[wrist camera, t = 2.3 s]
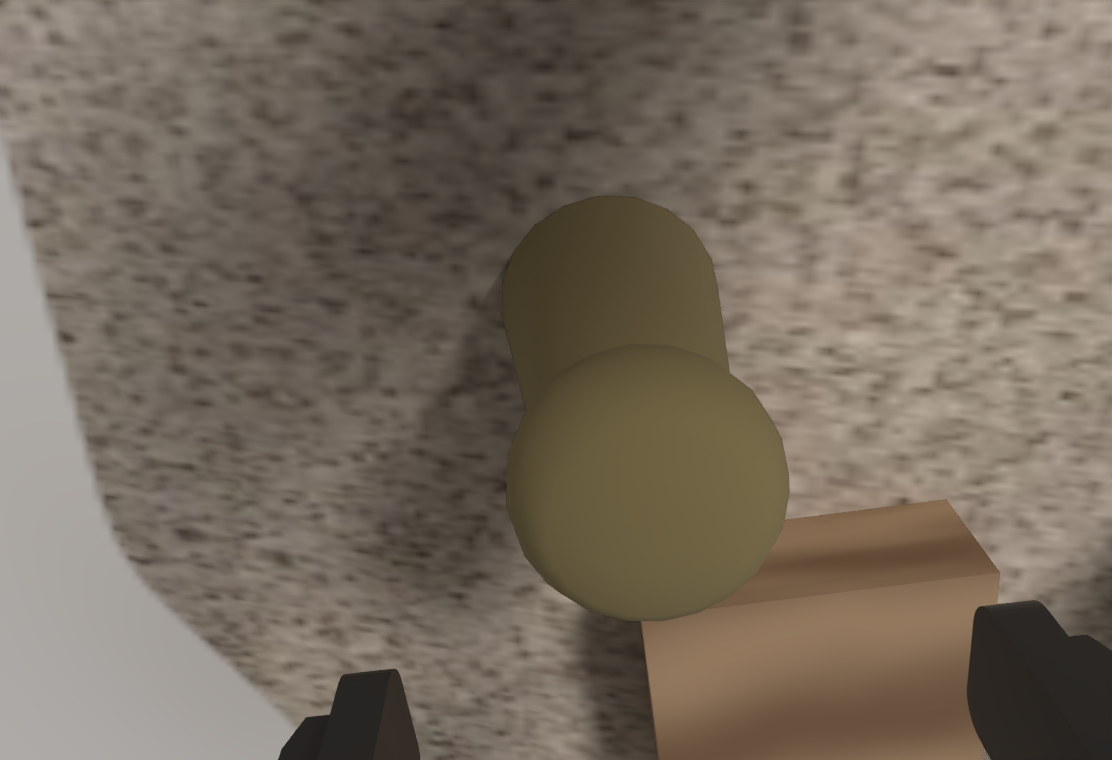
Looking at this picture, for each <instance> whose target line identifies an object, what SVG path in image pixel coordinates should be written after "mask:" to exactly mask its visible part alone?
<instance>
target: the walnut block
mask: <svg viewBox="0 0 1112 760" xmlns="http://www.w3.org/2000/svg"><path fill="white" fill-rule="evenodd" d="M999 578H1000V572H999V571H998V569H997V568H996V566H995V565H994V564H993V562H992V561H991V560H990V558H989V557H988V556H987V554H986V553H985V551H984V550H983V549H982V547H981V546H980V545H979V543H978V542H977V541H976V539H975V538H974V536H973V535H972V534H971V532H970V531H969V530H968V528H967V527H966V525H965V524H964V523H963V521H962V520H961V519H960V517H959V516H958V515H957V513H956V512H955V510H954V509H953V508H952V506H951V505H950V504H949V502H948V501H947V499H945V500H937V501H929V502H922V503H914V504H906V505H898V506H890V507H882V508H874V509H866V510H859V511H851V512H843V513H835V514H827V515H819V516H811V517H804V518H796V519H788V520H784V525H783V530H782V531H781V533H780V535H779V537H778V538H777V540H776V542H775V544H774V545H773V547H772V549H771V550H770V552H769V554H768V556H767V557H766V559H765V561H764V562H763V564H762V566H761V567H760V569H759V570H758V572H757V573H756V574H755V575H753V576H752V577H751V578H750V579H749V580H748V581H747V582H746V583H745V584H744V585H743V586H742V587H740V588H739V589H738V590H737V591H736V592H735V593H734V594H733V595H732V596H730V597H728V598H727V599H725V600H723V601H721V602H719V603H717V604H715V605H713V606H711V607H709V608H707V609H705V610H703V611H701V612H699V613H696V614H692V615H688V616H683V617H679V618H675V619H670V620H666V621H640V628H641V636H642V643H643V651H644V659H645V666H646V674H647V682H648V689H649V697H650V705H651V713H652V720H653V728H654V736H655V743H656V751H657V759H658V760H982V758H983V748H984V746H983V744H982V743H981V741H980V739H979V737H978V735H977V733H976V731H975V728H974V726H973V723H972V720H971V716H970V712H969V707H968V701H967V681H968V670H969V660H970V650H971V640H972V629H973V619H974V614H975V611H976V609H977V608H978V607H980V606H986V605H995V604H997V599H998V589H999Z"/></svg>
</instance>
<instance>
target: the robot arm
mask: <svg viewBox="0 0 1112 760" xmlns="http://www.w3.org/2000/svg"><path fill="white" fill-rule="evenodd" d="M967 701H968V707H969V712H970V716H971V720H972V723H973V726H974V728H975V731H976V733H977V735H978V737H979V739H980V741H981V743H982V744H983V746H984V748H985V750H986V752H987V753H988V755H989V757H990V759H991V760H1112V651H1111V650H1109V649H1108V648H1106V647H1105V646H1103V645H1102V644H1100V643H1099V642H1097V641H1096V640H1094V639H1093V638H1091V637H1090V636H1088V635H1080V636H1070V637H1069V636H1068V635H1067V634H1066V633H1065V631H1064V630H1063V629H1062V627H1061V626H1060V625H1059V624H1058V622H1057V621H1056V620H1055V619H1054V617H1053V616H1052V615H1051V613H1050V612H1049V611H1048V610H1047V608H1046V607H1045V606H1044V605H1043V604H1041V603H1040V602H1038V601H1035V600H1032V601H1023V602H1014V603H1004V604H995V605H986V606H980V607H978V608H977V609H976V611H975V614H974V619H973V629H972V640H971V650H970V660H969V670H968V681H967ZM278 760H420V753H419V747H418V743H417V739H416V735H415V731H414V727H413V723H412V719H411V715H410V711H409V708H408V704H407V700H406V696H405V692H404V688H403V684H402V680H401V677H400V674H399V672H398V671H397V670H396V669H387V670H378V671H369V672H360V673H351V674H344V675H343V676H342V677H341V678H340V681H339V683H338V687H337V691H336V694H335V698H334V702H333V705H332V709H331V713H330V715H324V716H315V717H306V718H305V719H304V721H303V722H302V723H301V725H300V726H299V727H298V729H297V730H296V731H295V732H294V734H293V735H292V736H291V738H290V739H289V740H288V742H287V743H286V744H285V746H284V747H283V748H282V750H281V753H280V756H279V759H278Z"/></svg>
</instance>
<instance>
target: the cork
mask: <svg viewBox="0 0 1112 760" xmlns="http://www.w3.org/2000/svg"><path fill="white" fill-rule="evenodd" d="M502 318H503V322H504V326H505V330H506V334H507V337H508V341H509V345H510V349H511V353H512V357H513V361H514V365H515V369H516V373H517V376H518V380H519V384H520V388H521V392H522V396H523V400H524V404H525V408H526V412H525V414H524V415H523V417H522V420H521V422H520V425H519V427H518V430H517V432H516V435H515V437H514V440H513V442H512V445H511V447H510V450H509V452H508V463H507V494H506V507H507V510H508V513H509V516H510V518H511V521H512V524H513V526H514V529H515V532H516V535H517V537H518V540H519V543H520V545H521V548H522V550H523V553H524V556H525V557H526V559H527V560H528V561H529V562H530V563H531V565H532V566H533V567H534V568H535V569H536V570H537V572H538V573H539V574H540V575H541V576H542V577H543V579H544V580H545V581H546V582H547V583H548V585H550V586H551V587H553V588H554V589H555V590H557V591H558V592H560V593H561V594H563V595H564V596H566V597H568V598H569V599H571V600H572V601H574V602H576V603H577V604H579V605H581V606H582V607H584V608H586V609H587V610H589V611H591V612H595V613H598V614H602V615H606V616H609V617H613V618H616V619H620V620H623V621H666V620H670V619H675V618H679V617H683V616H688V615H692V614H696V613H699V612H701V611H703V610H705V609H707V608H709V607H711V606H713V605H715V604H717V603H719V602H721V601H723V600H725V599H727V598H728V597H730V596H732V595H733V594H734V593H735V592H736V591H737V590H738V589H739V588H740V587H742V586H743V585H744V584H745V583H746V582H747V581H748V580H749V579H750V578H751V577H752V576H753V575H755V574H756V573H757V572H758V570H759V569H760V567H761V566H762V564H763V562H764V561H765V559H766V557H767V556H768V554H769V552H770V550H771V549H772V547H773V545H774V544H775V542H776V540H777V538H778V537H779V535H780V533H781V531H782V530H783V525H784V520H785V514H786V509H787V503H788V498H789V473H788V468H787V463H786V458H785V452H784V447H783V442H782V438H781V436H780V434H779V432H778V430H777V428H776V427H775V425H774V423H773V421H772V420H771V418H770V417H769V415H768V413H767V412H766V410H765V409H764V407H763V406H762V404H761V403H760V401H759V399H758V398H757V396H756V395H755V393H754V392H753V390H752V389H750V388H749V387H748V386H746V385H745V384H744V383H742V382H741V381H740V380H738V379H737V378H736V377H734V376H733V375H732V374H730V371H729V364H728V357H727V350H726V343H725V336H724V329H723V321H722V314H721V307H720V300H719V293H718V287H717V283H716V278H715V273H714V269H713V264H712V259H711V257H710V256H709V254H708V252H707V251H706V249H705V247H704V246H703V244H702V243H701V241H700V239H699V238H698V236H697V235H696V233H695V231H694V230H693V229H691V228H690V227H689V226H688V225H687V224H685V223H684V222H683V221H682V220H680V219H679V218H678V217H677V216H675V215H674V214H673V213H672V212H670V211H669V210H668V209H665V208H663V207H660V206H657V205H654V204H652V203H649V202H646V201H643V200H641V199H638V198H635V197H611V196H598V197H594V198H591V199H587V200H583V201H580V202H576V203H573V204H569V205H566V206H563V207H562V208H560V209H559V210H557V211H556V212H554V213H553V214H551V215H550V216H548V217H547V218H545V219H544V220H542V221H541V222H539V223H538V224H536V225H535V226H534V227H533V228H532V230H531V231H530V232H529V233H528V235H527V236H526V237H525V238H524V240H523V241H522V242H521V243H520V245H519V246H518V247H517V248H516V250H515V251H514V252H513V255H512V258H511V261H510V263H509V266H508V269H507V272H506V274H505V277H504V280H503V283H502Z"/></svg>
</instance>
